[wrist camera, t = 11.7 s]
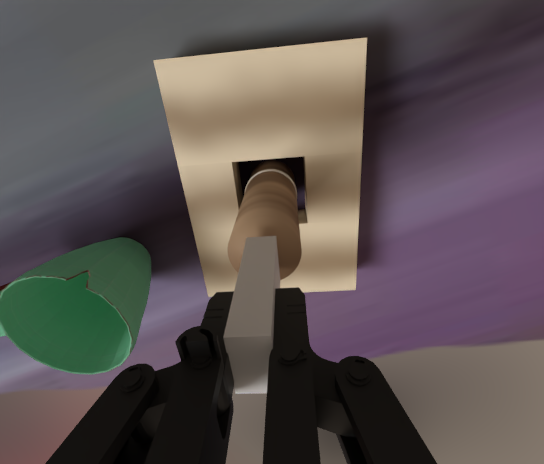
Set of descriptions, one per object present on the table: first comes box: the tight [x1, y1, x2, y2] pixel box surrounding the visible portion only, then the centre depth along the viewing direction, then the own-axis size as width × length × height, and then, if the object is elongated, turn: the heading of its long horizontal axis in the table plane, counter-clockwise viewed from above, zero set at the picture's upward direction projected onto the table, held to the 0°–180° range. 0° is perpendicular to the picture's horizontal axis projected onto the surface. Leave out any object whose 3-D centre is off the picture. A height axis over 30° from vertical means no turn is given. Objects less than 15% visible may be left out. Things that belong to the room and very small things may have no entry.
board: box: [153, 38, 367, 297], centre depth 26 cm, size 20×14×3 cm
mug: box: [0, 237, 151, 374], centre depth 27 cm, size 15×10×10 cm
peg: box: [227, 160, 302, 280], centre depth 22 cm, size 4×4×12 cm
